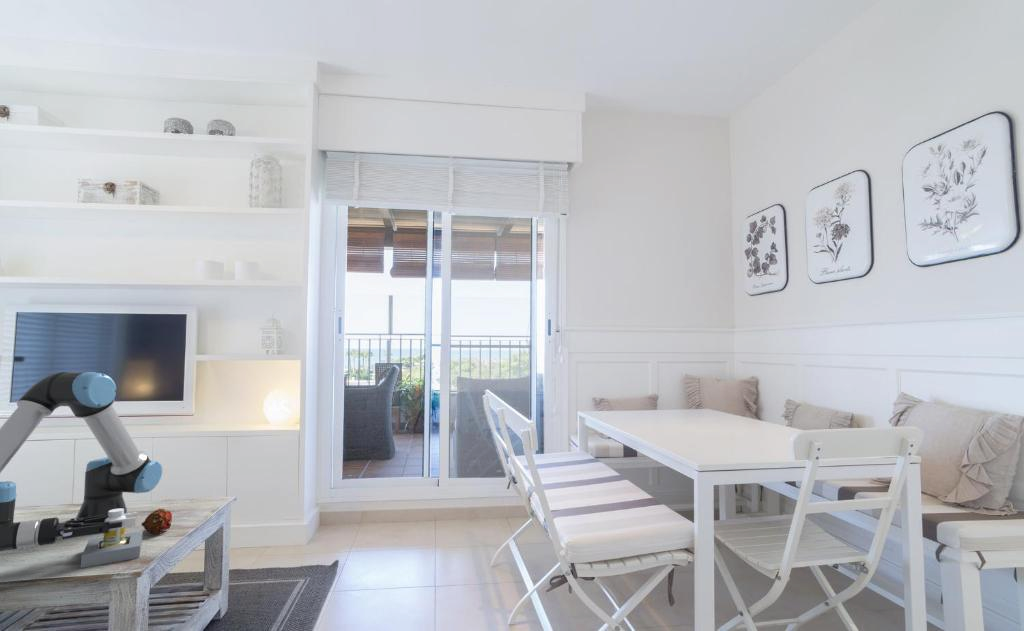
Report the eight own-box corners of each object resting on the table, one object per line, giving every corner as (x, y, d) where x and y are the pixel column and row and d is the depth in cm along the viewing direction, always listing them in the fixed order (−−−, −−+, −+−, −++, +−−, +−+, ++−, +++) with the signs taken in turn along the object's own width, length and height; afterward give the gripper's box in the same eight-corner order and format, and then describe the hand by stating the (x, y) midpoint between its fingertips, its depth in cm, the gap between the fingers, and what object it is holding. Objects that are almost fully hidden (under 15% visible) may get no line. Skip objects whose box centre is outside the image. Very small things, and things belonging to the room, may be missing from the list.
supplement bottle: (120, 537, 163) (122, 506, 164) (127, 540, 160) (129, 509, 161) (100, 542, 158) (102, 510, 159) (107, 545, 155) (109, 513, 156)
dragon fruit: (157, 541, 174) (151, 537, 182) (181, 522, 179) (174, 519, 188) (141, 524, 171) (135, 521, 180) (165, 505, 177) (159, 502, 185)
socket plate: (88, 550, 162) (89, 539, 162) (141, 541, 169) (142, 530, 170) (80, 567, 148) (81, 555, 149) (139, 557, 156) (140, 546, 156)
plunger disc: (101, 548, 160) (102, 540, 160) (127, 544, 163) (127, 536, 164) (99, 554, 155) (100, 546, 155) (125, 550, 158) (126, 542, 158)
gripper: (44, 536, 157) (136, 523, 170) (31, 555, 142) (133, 539, 155) (46, 511, 158) (138, 500, 171) (33, 528, 142) (134, 514, 155)
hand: (135, 519), depth 163 cm, fingers closed on supplement bottle, 5 cm apart
